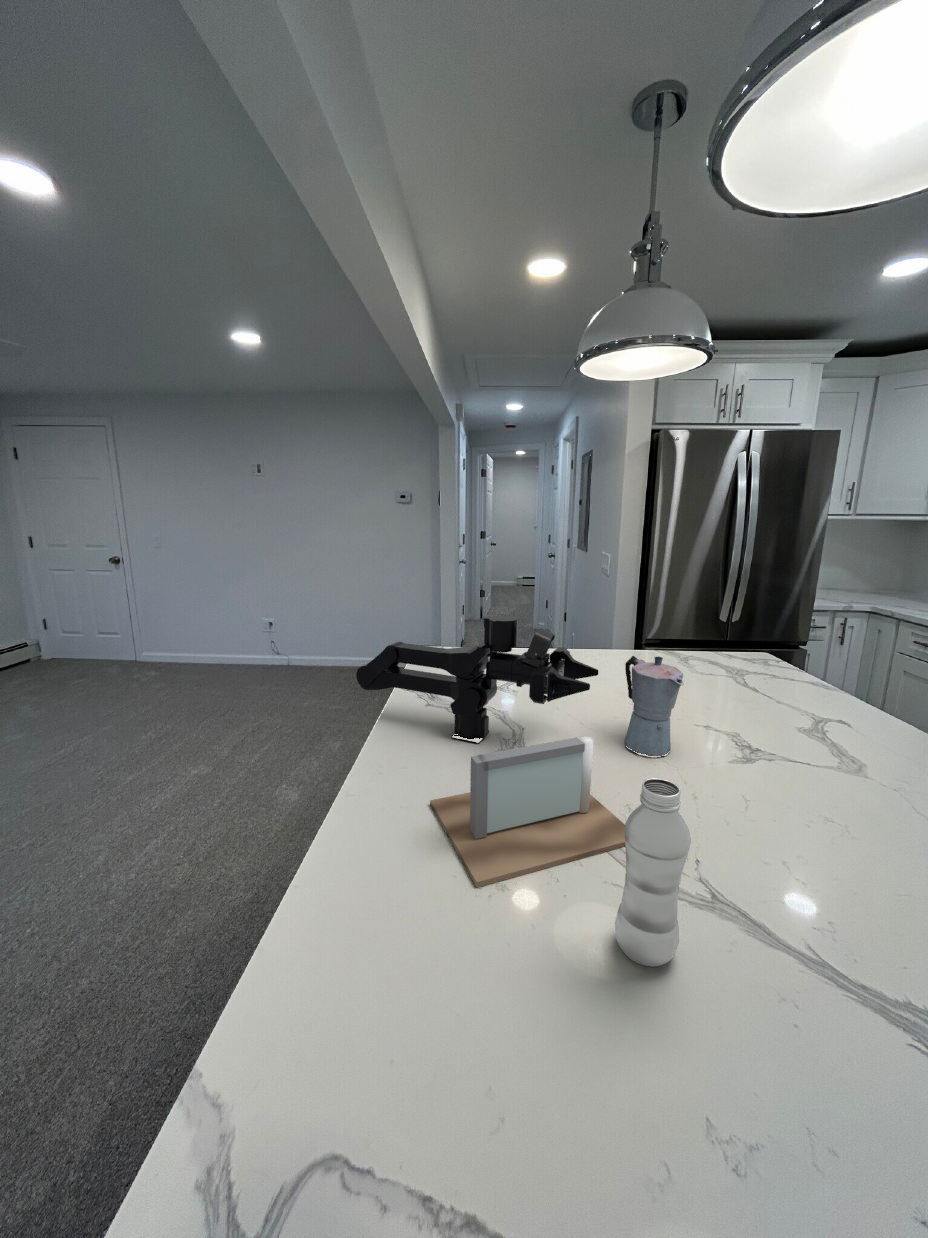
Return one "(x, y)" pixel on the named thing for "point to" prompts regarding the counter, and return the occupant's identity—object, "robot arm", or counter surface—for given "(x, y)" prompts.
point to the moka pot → (651, 705)
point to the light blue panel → (529, 784)
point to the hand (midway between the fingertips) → (594, 679)
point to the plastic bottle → (653, 875)
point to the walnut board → (527, 840)
